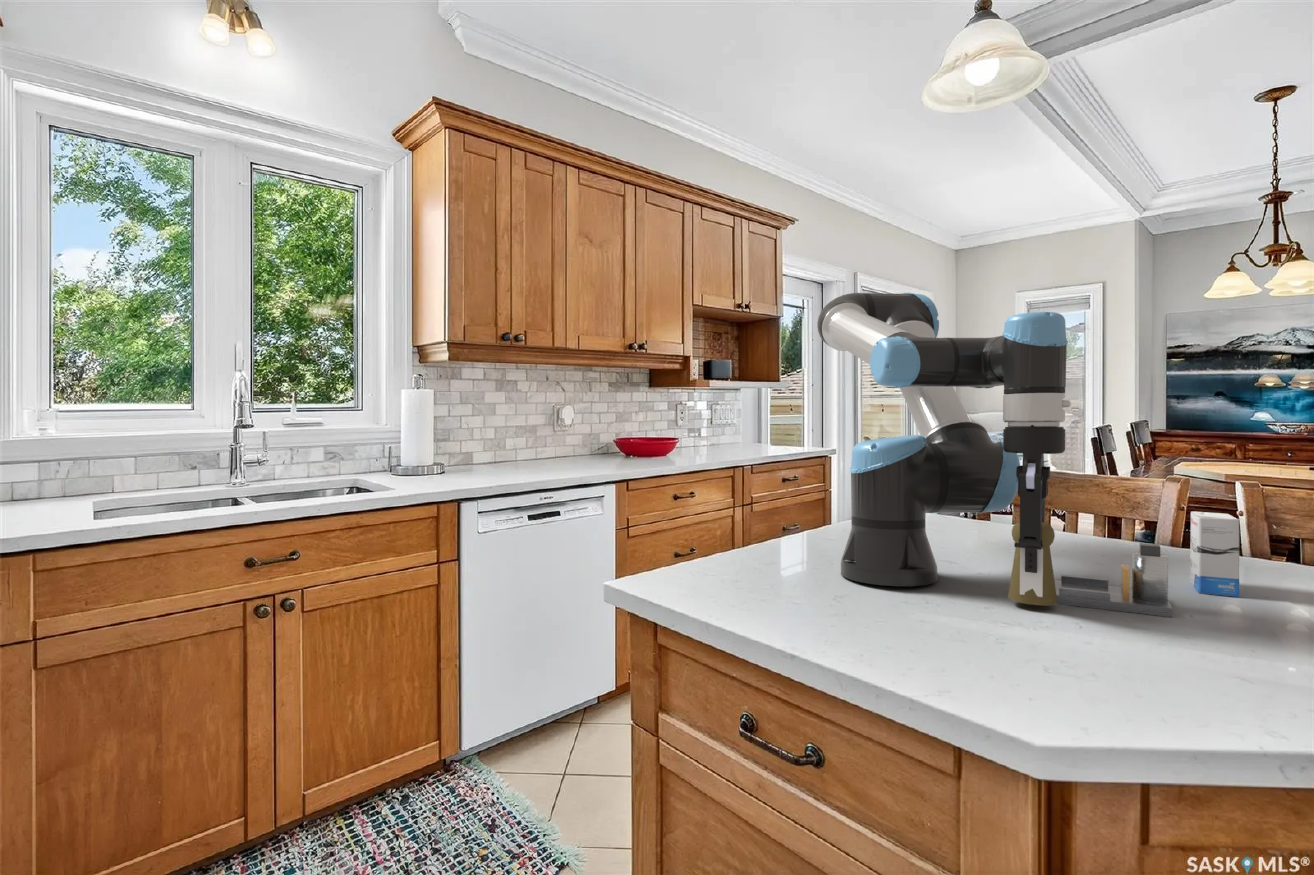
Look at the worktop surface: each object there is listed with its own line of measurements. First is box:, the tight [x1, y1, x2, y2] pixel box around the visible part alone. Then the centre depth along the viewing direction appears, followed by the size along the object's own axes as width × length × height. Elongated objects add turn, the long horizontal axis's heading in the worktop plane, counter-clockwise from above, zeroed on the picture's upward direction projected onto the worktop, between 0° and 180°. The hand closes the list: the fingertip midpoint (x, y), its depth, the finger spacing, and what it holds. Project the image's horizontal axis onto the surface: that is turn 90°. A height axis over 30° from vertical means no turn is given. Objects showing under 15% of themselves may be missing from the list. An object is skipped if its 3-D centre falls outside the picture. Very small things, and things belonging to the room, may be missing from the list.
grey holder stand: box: [1054, 542, 1173, 618], centre depth 95 cm, size 15×11×9 cm
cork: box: [1007, 521, 1058, 606], centre depth 92 cm, size 6×6×11 cm
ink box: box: [1189, 510, 1240, 598], centre depth 101 cm, size 8×5×12 cm, turn 148°
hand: (1032, 591), depth 92 cm, fingers closed on cork, 4 cm apart
